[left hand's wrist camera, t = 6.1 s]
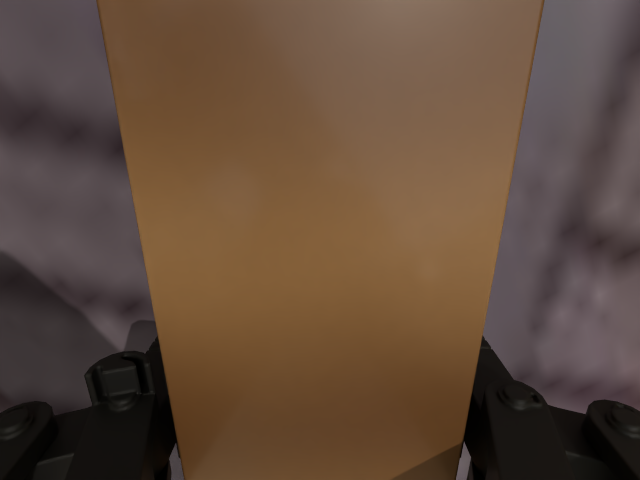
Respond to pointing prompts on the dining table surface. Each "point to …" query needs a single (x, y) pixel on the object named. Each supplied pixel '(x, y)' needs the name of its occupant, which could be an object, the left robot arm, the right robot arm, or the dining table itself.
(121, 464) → the left robot arm
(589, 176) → the dining table surface
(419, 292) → the post
